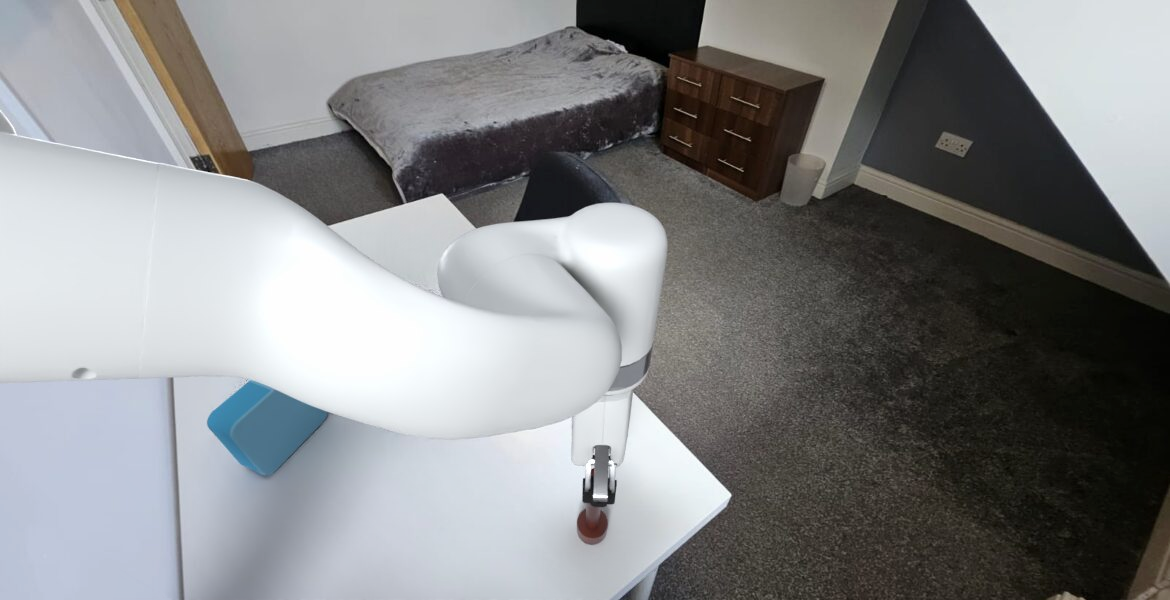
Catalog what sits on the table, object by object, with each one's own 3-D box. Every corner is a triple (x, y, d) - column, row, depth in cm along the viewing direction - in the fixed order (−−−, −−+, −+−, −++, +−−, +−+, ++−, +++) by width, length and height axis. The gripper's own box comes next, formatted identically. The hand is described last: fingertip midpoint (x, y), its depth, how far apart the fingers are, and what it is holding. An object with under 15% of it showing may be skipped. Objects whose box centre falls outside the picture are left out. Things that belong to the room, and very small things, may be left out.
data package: (309, 405, 76) (279, 354, 68) (331, 414, 74) (303, 363, 66) (243, 469, 67) (200, 419, 59) (267, 480, 66) (226, 431, 58)
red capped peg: (596, 551, 60) (602, 499, 51) (570, 533, 61) (571, 479, 52) (612, 524, 62) (620, 470, 53) (587, 508, 64) (590, 452, 55)
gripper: (569, 281, 46) (570, 390, 57) (551, 437, 33) (557, 538, 44) (646, 284, 46) (632, 393, 57) (658, 442, 33) (637, 542, 44)
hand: (599, 456), depth 50 cm, fingers open, 9 cm apart
